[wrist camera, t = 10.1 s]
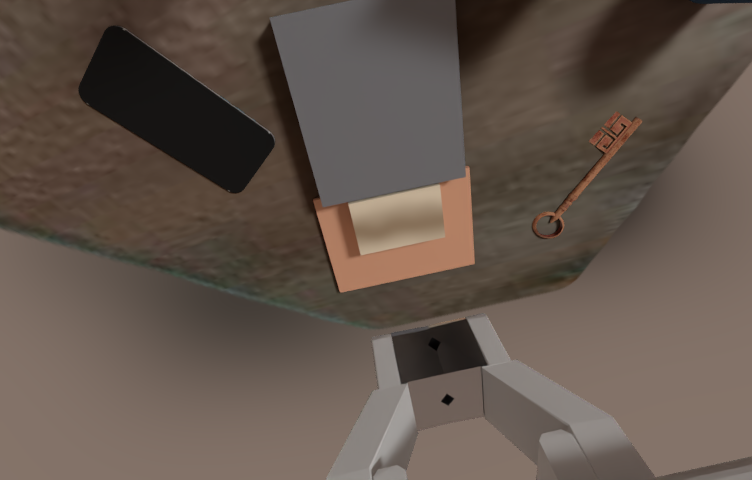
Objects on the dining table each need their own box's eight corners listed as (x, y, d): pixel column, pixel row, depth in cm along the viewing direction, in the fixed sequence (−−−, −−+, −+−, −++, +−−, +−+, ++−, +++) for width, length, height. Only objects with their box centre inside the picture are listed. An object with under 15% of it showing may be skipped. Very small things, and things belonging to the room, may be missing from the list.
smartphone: (110, 18, 30) (279, 139, 36) (114, 18, 30) (280, 137, 36) (73, 96, 32) (238, 197, 38) (78, 95, 33) (239, 194, 38)
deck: (273, 17, 31) (269, 17, 29) (445, -20, 31) (453, -22, 29) (322, 196, 39) (322, 207, 37) (458, 167, 39) (465, 177, 37)
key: (609, 98, 38) (511, 219, 44) (614, 99, 37) (514, 222, 43) (649, 128, 40) (550, 241, 45) (655, 130, 39) (553, 245, 45)
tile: (347, 196, 39) (348, 204, 37) (434, 177, 39) (439, 184, 37) (359, 245, 42) (360, 255, 40) (440, 228, 42) (445, 237, 40)
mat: (313, 198, 39) (313, 200, 39) (467, 165, 39) (469, 167, 39) (339, 290, 45) (340, 292, 45) (473, 261, 46) (474, 263, 45)
